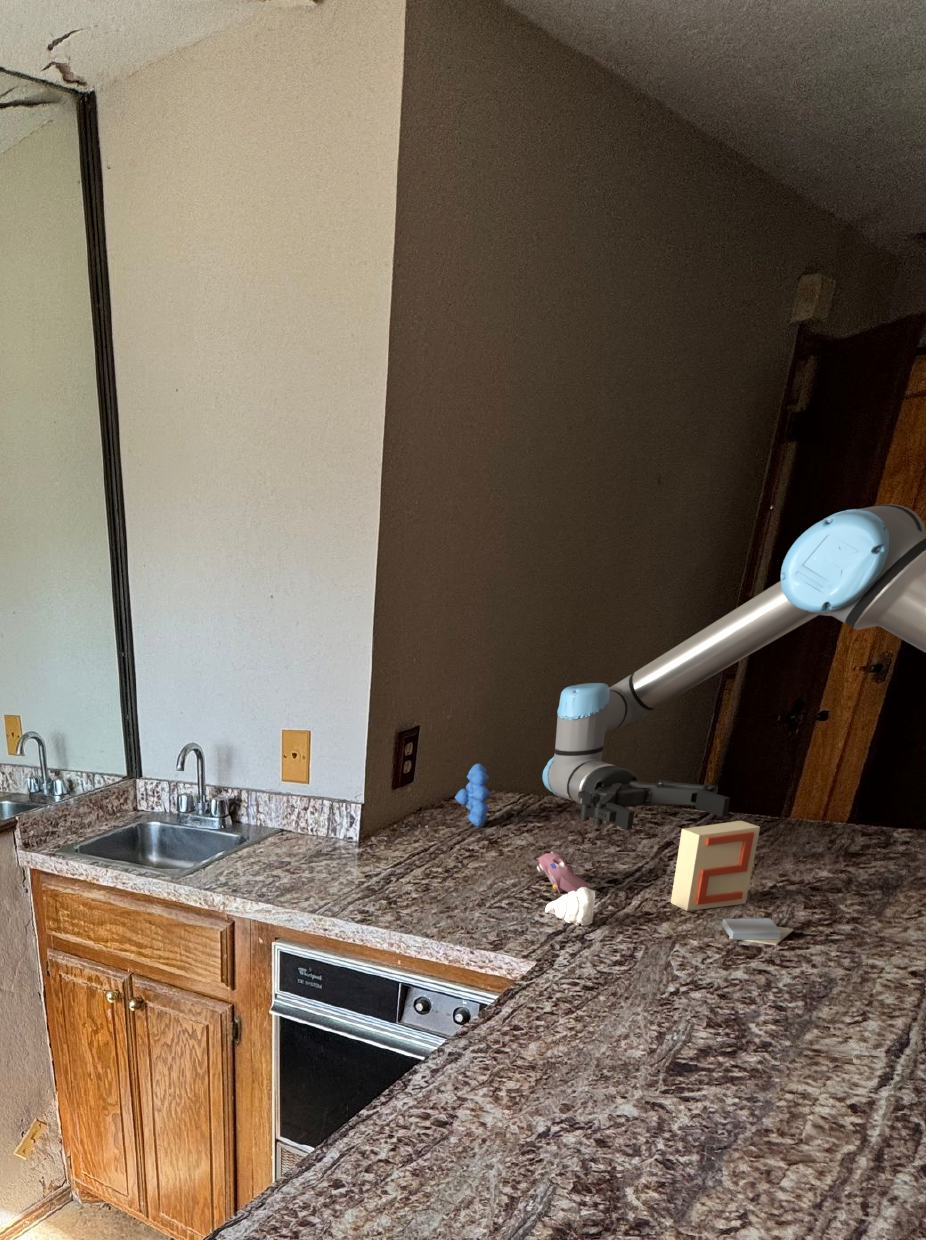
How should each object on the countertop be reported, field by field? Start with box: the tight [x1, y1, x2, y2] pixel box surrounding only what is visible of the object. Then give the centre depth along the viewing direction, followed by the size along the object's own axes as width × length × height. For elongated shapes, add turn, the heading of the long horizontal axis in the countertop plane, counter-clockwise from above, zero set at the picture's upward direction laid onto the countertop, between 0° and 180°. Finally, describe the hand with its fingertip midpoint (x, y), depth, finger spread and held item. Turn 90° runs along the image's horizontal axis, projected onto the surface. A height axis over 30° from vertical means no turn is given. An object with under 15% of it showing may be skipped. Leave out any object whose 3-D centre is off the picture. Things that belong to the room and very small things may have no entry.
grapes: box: [454, 762, 491, 828], centre depth 178 cm, size 12×7×12 cm, turn 166°
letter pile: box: [721, 917, 795, 946], centre depth 111 cm, size 12×10×3 cm
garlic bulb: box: [544, 887, 596, 927], centre depth 127 cm, size 6×6×5 cm
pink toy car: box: [536, 851, 591, 894], centre depth 140 cm, size 10×5×7 cm, turn 168°
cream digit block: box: [670, 820, 761, 912], centre depth 124 cm, size 8×4×11 cm, turn 89°
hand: (678, 814), depth 131 cm, fingers open, 13 cm apart
